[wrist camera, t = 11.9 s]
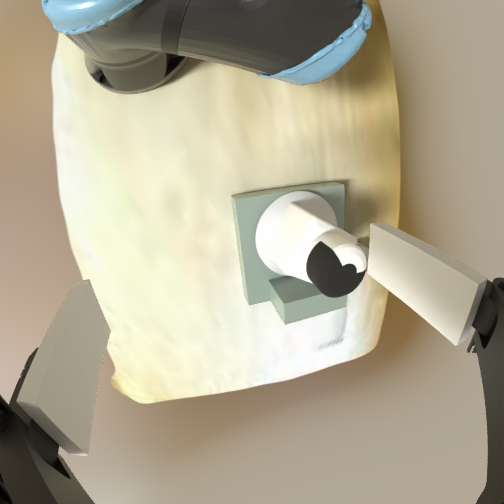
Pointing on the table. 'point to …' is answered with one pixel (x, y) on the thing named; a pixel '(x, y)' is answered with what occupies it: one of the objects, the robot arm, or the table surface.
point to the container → (317, 252)
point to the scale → (260, 234)
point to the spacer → (366, 251)
